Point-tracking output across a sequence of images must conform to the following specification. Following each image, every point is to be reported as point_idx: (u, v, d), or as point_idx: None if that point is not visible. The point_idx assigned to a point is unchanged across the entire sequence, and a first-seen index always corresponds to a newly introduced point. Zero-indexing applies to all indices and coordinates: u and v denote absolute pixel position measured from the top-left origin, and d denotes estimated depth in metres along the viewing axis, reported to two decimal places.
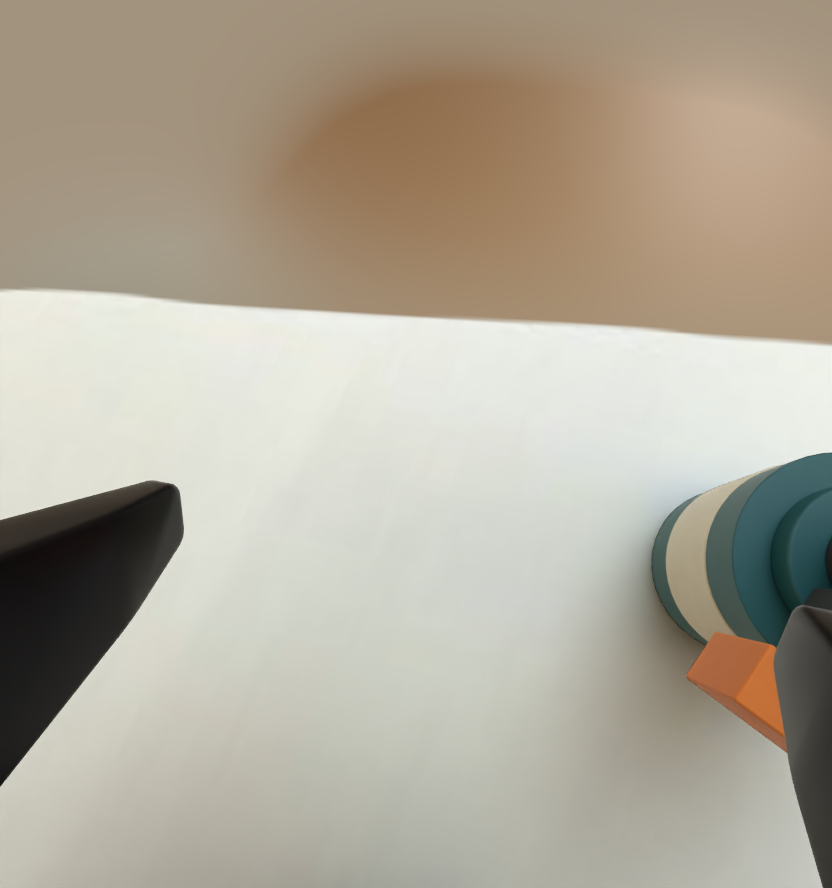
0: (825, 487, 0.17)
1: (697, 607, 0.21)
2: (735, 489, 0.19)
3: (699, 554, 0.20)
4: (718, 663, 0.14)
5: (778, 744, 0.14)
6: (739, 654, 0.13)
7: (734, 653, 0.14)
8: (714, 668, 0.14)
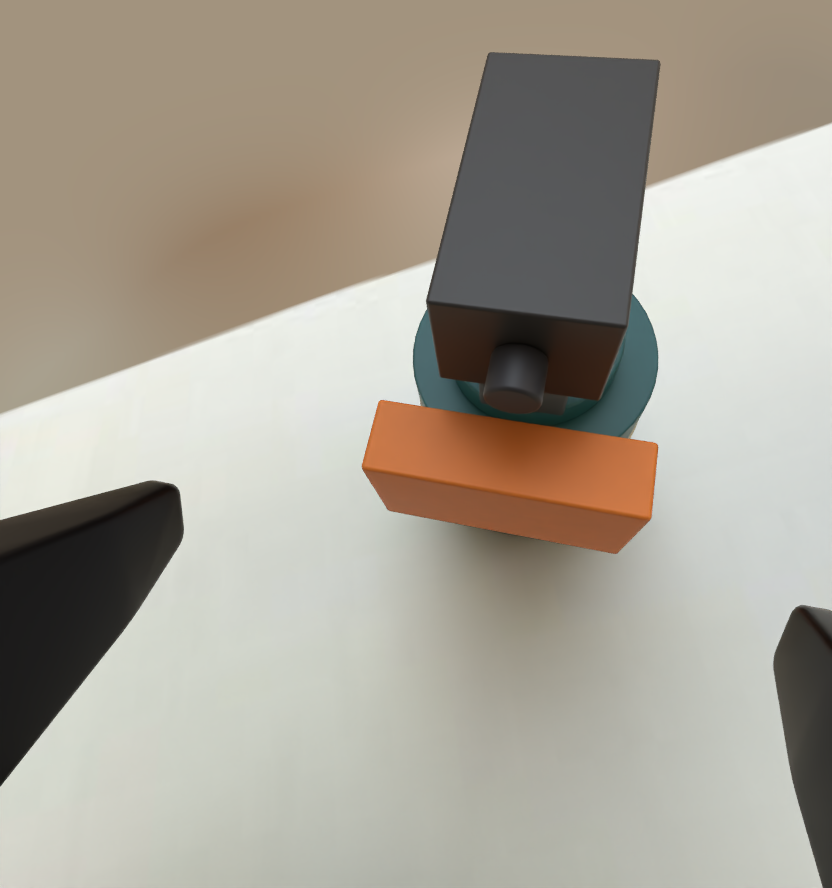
0: None
1: None
2: None
3: None
4: None
5: (487, 524, 0.13)
6: None
7: None
8: None
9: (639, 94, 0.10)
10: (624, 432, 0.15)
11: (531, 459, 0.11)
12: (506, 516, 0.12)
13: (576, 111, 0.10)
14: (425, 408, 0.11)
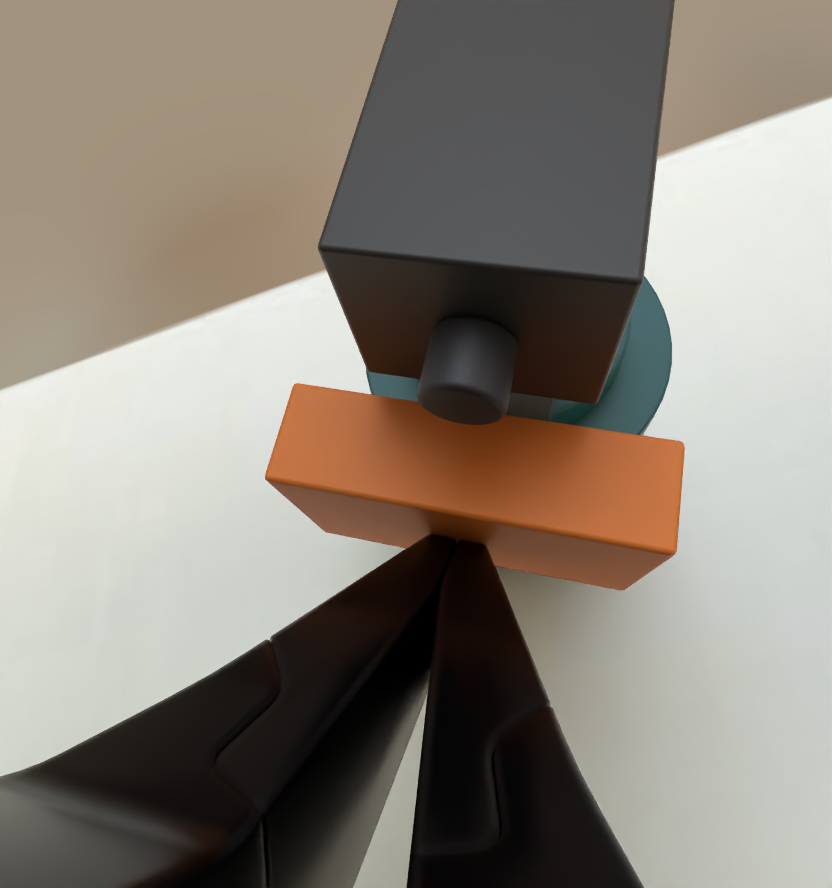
0: None
1: None
2: None
3: None
4: None
5: None
6: None
7: None
8: None
9: None
10: None
11: (503, 465, 0.07)
12: None
13: None
14: (356, 394, 0.08)
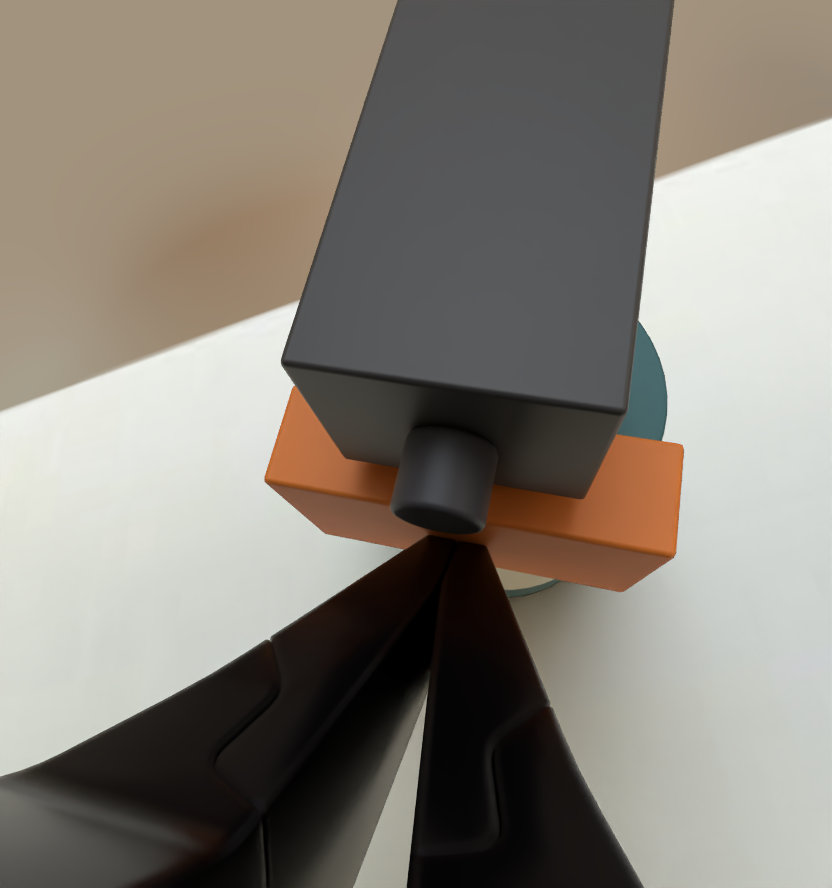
0: None
1: None
2: None
3: None
4: None
5: None
6: None
7: None
8: None
9: (645, 17, 0.06)
10: None
11: None
12: None
13: (543, 45, 0.06)
14: None
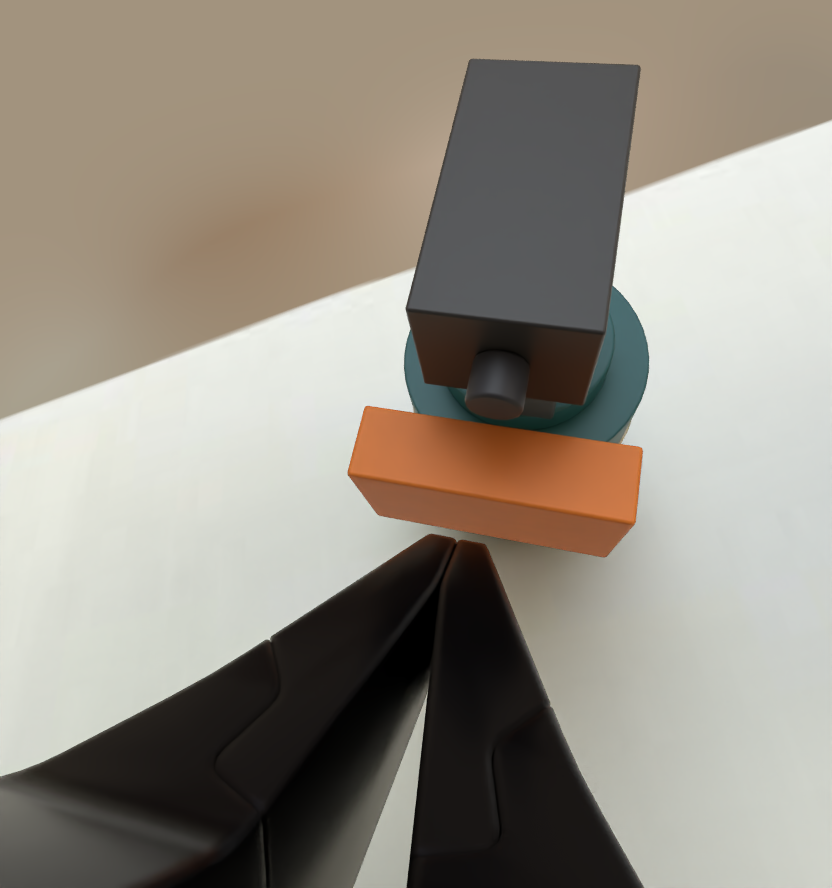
0: None
1: None
2: None
3: None
4: None
5: (476, 528, 0.13)
6: None
7: None
8: None
9: (619, 99, 0.10)
10: (615, 435, 0.15)
11: (517, 463, 0.11)
12: (493, 520, 0.12)
13: (556, 117, 0.10)
14: (410, 414, 0.11)
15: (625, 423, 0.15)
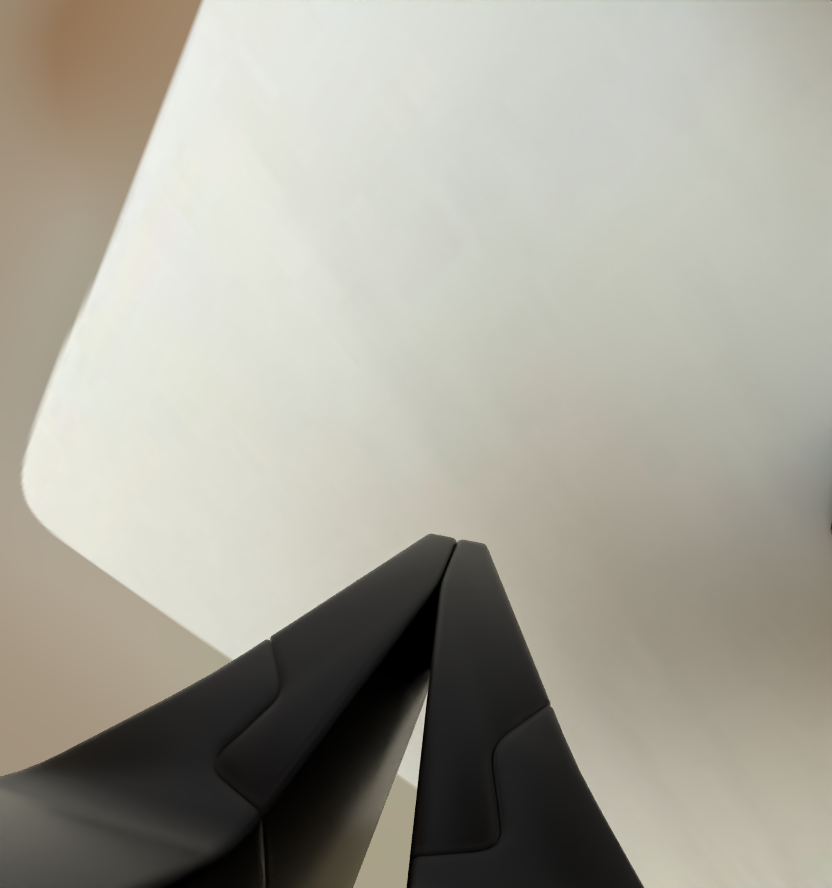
0: None
1: None
2: None
3: None
4: None
5: None
6: None
7: None
8: None
9: None
10: None
11: None
12: None
13: None
14: None
15: None
